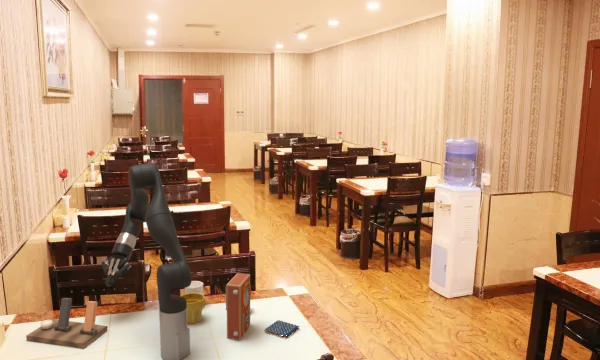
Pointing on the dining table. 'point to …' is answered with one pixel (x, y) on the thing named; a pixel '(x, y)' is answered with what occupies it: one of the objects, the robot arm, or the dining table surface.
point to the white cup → (195, 287)
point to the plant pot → (194, 306)
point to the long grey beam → (64, 313)
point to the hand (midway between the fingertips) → (108, 285)
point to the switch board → (67, 335)
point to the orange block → (90, 316)
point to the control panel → (238, 306)
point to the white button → (46, 324)
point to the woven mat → (281, 328)
